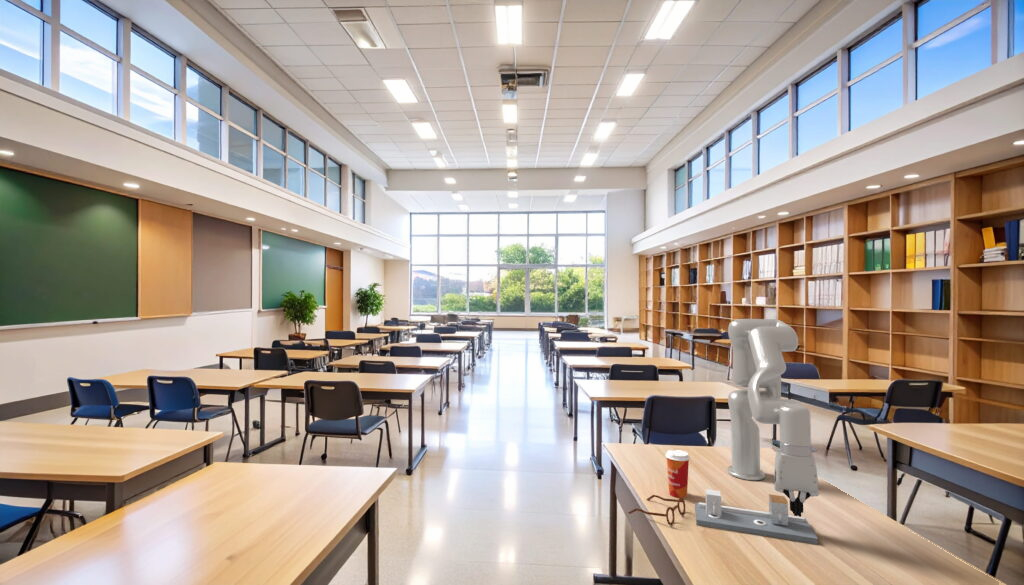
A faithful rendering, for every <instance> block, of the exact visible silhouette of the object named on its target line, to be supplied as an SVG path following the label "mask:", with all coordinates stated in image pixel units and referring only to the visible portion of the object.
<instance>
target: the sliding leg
mask: <svg viewBox="0 0 1024 585" xmlns="http://www.w3.org/2000/svg"><path fill="white" fill-rule="evenodd" d="M785 496H786V495H775V494H768V512H769V518H770V520H771V522H772V523H773V524H779V525H786V526H788V515H789V504H788V500H787V498H786V497H785Z"/></svg>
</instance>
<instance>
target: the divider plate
mask: <svg viewBox="0 0 1024 585" xmlns="http://www.w3.org/2000/svg"><path fill="white" fill-rule="evenodd" d="M694 509H695V510H694V511H695V512H694V514H695V522H696V523H695V524H696V526H700V527H709V528H711V529H713V528H714V529H719V530H727V531H731V530H732V532H739V533H744V534H745V533H746V534H750V533H751V534H752V535H756V536H757V535H758V536H764V537H769V538H774V539H775V538H776V539H783V540H788V541H793V542H799V543H800V542H801V543H807V544H813V545H818V544H819V539H818V537H817V535H816V533H815V531H814V530H813V528H812V526H811V524H810V523H809V521H808V520H807V518H804V517H803V516H801V517H799V516H794V515H790V514H788V526H786V525H779V524H773V523H772V522H771V520H770V518H769V511H762V510H761V511H760V510H757V509H756V510H755V509H747V508H739V507H735V506H734V507H733V506H726V505H722V495H721V490H716V489H715V490H714V489H709V488H708V489H707V488H705V502H694Z"/></svg>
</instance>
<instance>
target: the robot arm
mask: <svg viewBox="0 0 1024 585" xmlns="http://www.w3.org/2000/svg"><path fill="white" fill-rule="evenodd" d="M727 329H728V330H727V334H728V335H727V336H728V338H729V339H728V340H729V341H730V344H731V348H732V380H733V383H734V384H735V385H736V386H737V387H742V388H747V389H738V390H737V389H735V390H733V391H731V392H730V393H729V394H728V396H727V403H728V408H729V416H730V431H731V432H730V434H731V435H730V437H731V439H730V440H731V465H730V466H728V467H727V469H726V470H727V473H728V474H729V475H730V476H732V477H735V478H738V479H740V480H747V481H762V480H764V479H765V478H766V473H765V472H764V471H763V470H761V447H760V446H761V445H760V443H761V442H760V441H761V440H760V438H761V437H760V436H761V435H760V434H761V433H760V428H759V426H758V424H757V422H758V423H760V424H766V425H779V426H778V427H779V450H776V453H775V458H774V459H775V460H774V470H773V476H774V478H773V480H774V482H775V484H774V486H773V487H774V488H773V489H774V490H775V491H776V492H779V493H781V494H784V496H786V497H787V498H788V499H789V511H790V512H792V514H793V516H798V517H802V514H804V503H805V502H806V500H807V499H809V498H810V497H814V498H815V497H819V495H820V493H819V478H818V471H817V465H816V463H817V462H816V460H815V457H814V456H815V455H814V454H813V453H817V452H818V447H817V446H814V445H812V436H811V435H812V433H811V430H812V429H811V428H812V427H811V411H810V408H808V407H806V406H804V405H803V404H802V403H801V402H800V401H799V400H796V399H790V398H782V392H781V391H782V375H783V374H785V372H786V371H787V365H786V362H785V359H784V356H783V352H794V351H796V350H797V349H798V346H799V338H798V335H797V332H796V331H795V329H794V328H793V327H791V325H789V324H787V323H785V322H784V321H782V320H780V319H775V318H774V319H773V318H739V319H735V320H732V321H731V322H729V325H728V328H727ZM760 389H764V390H760ZM753 418H754V419H753ZM795 492H797V497H795V496H796V495H795Z"/></svg>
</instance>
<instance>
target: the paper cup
mask: <svg viewBox="0 0 1024 585" xmlns="http://www.w3.org/2000/svg"><path fill="white" fill-rule="evenodd" d="M665 457H666V466H667V468H666V469H667V479H668V480H667V482H668V483H667V484H668V493H669V495H670V496H671V497H672V498H676V499H679V498H683V499H685V498H687V497H688V485H689V465H690V464H689V462H690V459H691V458H690V456H689V453H688V452H687V451H685V450H684V451H683V450H680V449H672V450H671V449H669V450H667V451H666V454H665Z"/></svg>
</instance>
